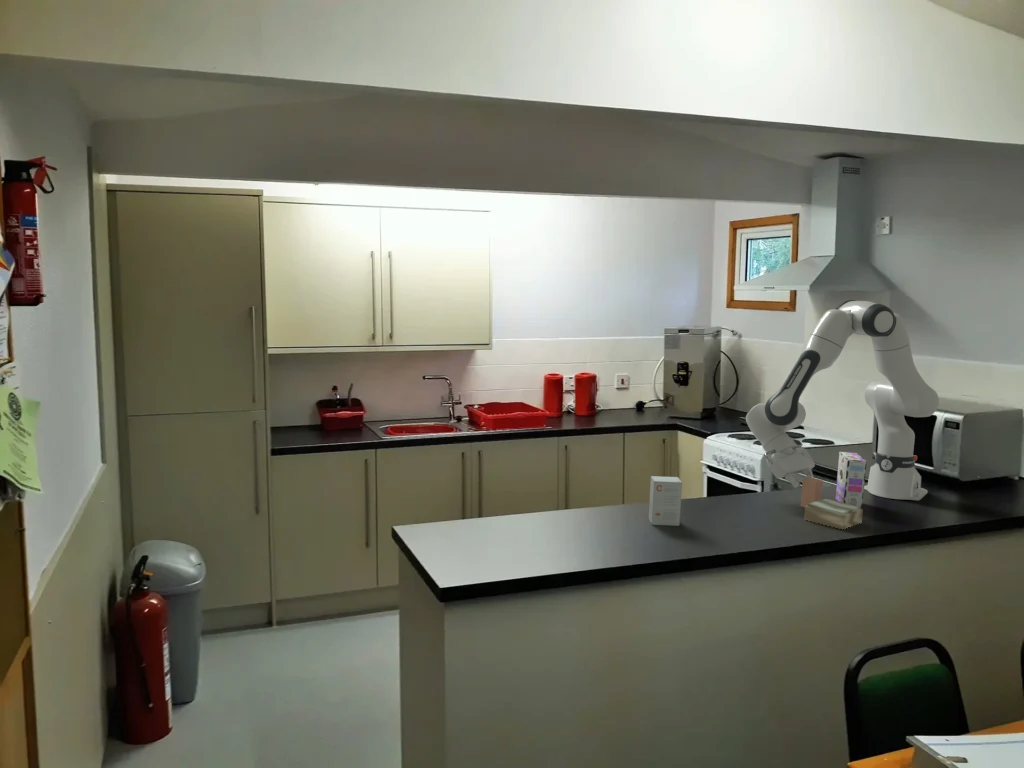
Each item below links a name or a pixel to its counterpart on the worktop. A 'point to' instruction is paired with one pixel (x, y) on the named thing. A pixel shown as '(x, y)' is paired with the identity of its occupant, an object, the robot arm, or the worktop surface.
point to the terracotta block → (811, 491)
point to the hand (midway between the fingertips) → (805, 484)
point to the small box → (665, 500)
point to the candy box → (850, 478)
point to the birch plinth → (833, 513)
